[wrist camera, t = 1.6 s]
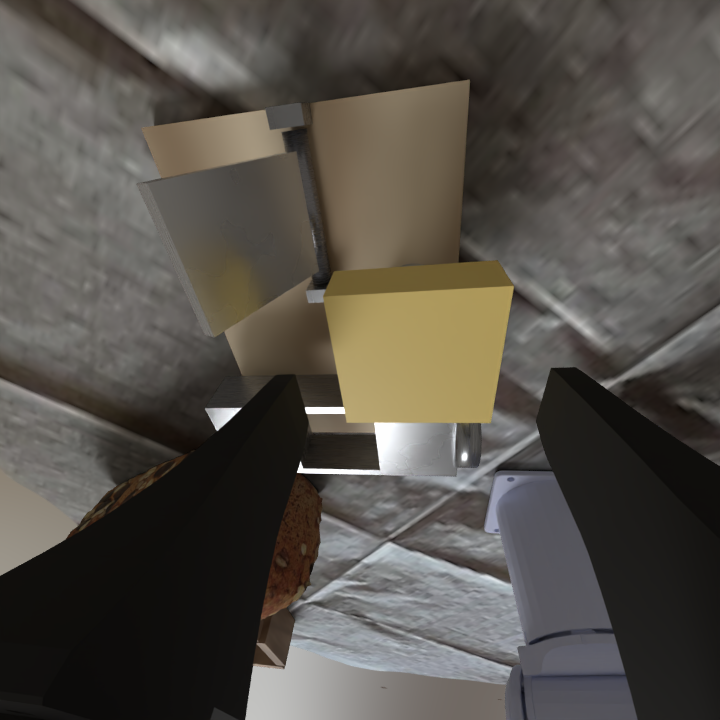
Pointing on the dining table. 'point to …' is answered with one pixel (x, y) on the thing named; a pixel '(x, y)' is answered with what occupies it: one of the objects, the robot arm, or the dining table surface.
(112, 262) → the dining table surface
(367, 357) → the pale yellow block
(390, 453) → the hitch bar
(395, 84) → the dining table surface
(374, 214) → the base board
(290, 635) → the open wooden box
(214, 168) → the plate
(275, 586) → the bread
